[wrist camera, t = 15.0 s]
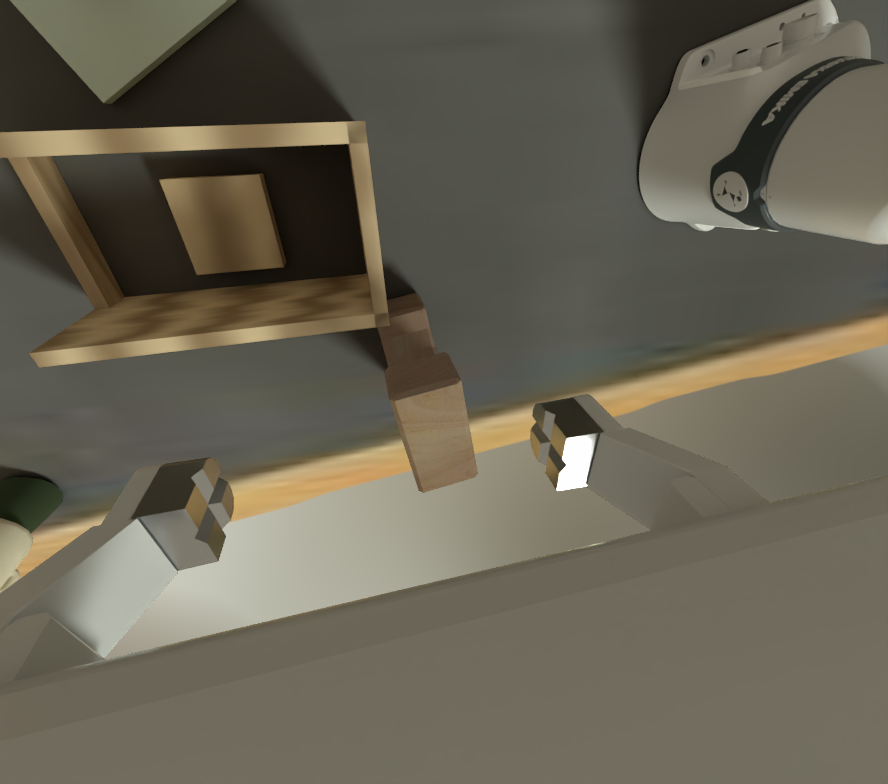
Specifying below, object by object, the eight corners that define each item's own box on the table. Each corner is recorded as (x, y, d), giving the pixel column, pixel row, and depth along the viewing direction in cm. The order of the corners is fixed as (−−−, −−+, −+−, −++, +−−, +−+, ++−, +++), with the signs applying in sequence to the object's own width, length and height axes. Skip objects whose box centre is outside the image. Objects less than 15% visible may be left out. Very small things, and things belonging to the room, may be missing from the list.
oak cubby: (358, 127, 34) (364, 121, 25) (379, 283, 42) (389, 325, 33) (24, 138, 30) (-129, 136, 20) (117, 309, 38) (39, 367, 28)
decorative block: (371, 301, 43) (388, 397, 27) (419, 290, 44) (464, 377, 28) (393, 381, 50) (418, 497, 33) (435, 370, 50) (479, 479, 34)
